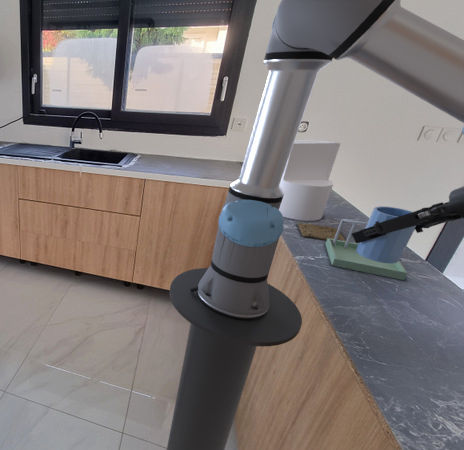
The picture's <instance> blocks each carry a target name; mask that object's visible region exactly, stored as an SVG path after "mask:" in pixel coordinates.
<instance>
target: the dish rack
mask: <svg viewBox="0 0 464 450" xmlns="http://www.w3.org/2000/svg"><path fill="white" fill-rule="evenodd" d="M345 223H349V224H352V226H351V228H350V230H349V232H348V235H347V238H346V239H345V240H346V241H340V240H337V239H338V236H339V234H340V233H341V231H342V229H343V226H344V224H345ZM367 223H368V221H359V220H353V219H347V218H341V219H340V222H339V225H338V228H337V229H338V230H337V232H336V235H335V238H334V239H329V238H327V240H325V244H324V245H325V249H326V251H327V255H328V258H329V262H330V264H331V266H334V267H339V268H342V269H348V270H353V271H357V272H362V273H367V274H371V275H378V276H382V277H387V278H391V279H397V280H401V281H405V279H406V277H407V275H408V271H407V270H406V268H405V267H404V266H403V265H402V263H401V262H400V260H399V261H398V262H397V263H382V262H377V261H373V260H370V259H368V258H365V257H363V256H361V255H359V254H358V253H357V252H356V249H357V246H358V244H359V243H356V242H353V241H352V242H351V239H352V238H353V236H352V234H351V233H354V232H355V229H356V227H357V225H363V226H364V229H365V228H366V225H367Z"/></svg>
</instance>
